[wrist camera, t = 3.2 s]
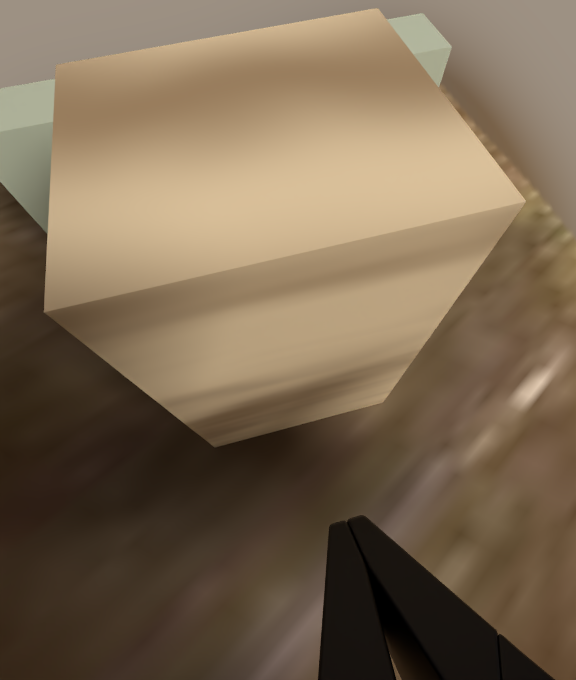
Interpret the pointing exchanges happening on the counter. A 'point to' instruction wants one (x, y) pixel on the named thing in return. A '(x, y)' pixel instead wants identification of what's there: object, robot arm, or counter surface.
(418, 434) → the counter surface
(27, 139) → the green board
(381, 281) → the maple block
